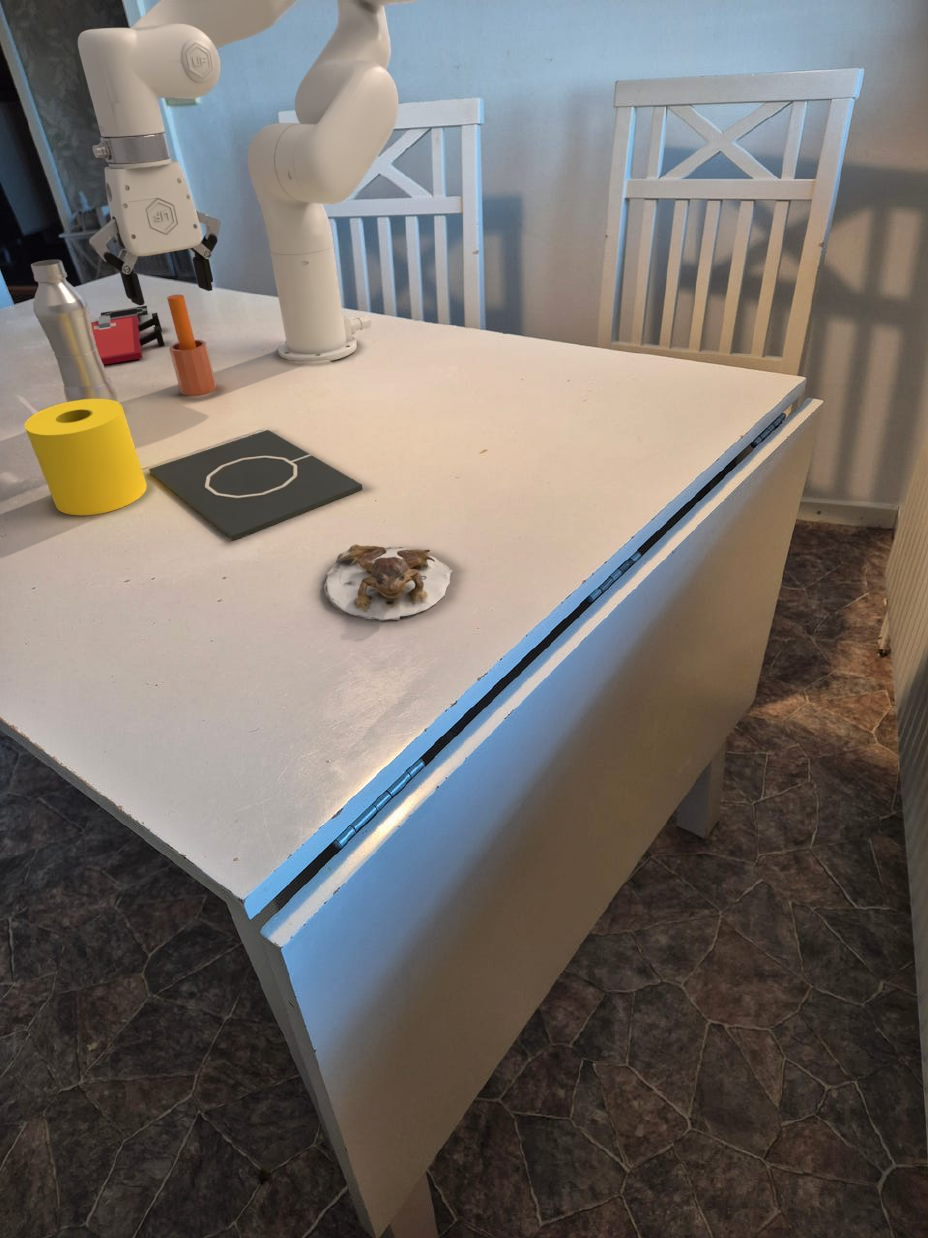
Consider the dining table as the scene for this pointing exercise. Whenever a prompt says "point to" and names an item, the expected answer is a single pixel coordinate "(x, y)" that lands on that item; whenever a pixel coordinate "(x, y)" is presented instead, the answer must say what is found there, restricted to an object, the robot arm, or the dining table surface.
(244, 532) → the slate board
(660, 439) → the dining table surface
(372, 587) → the frog figurine
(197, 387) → the pen cup
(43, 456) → the yellow hollow cylinder
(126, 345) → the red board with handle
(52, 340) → the silver bottle
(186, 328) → the marker
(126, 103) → the robot arm
